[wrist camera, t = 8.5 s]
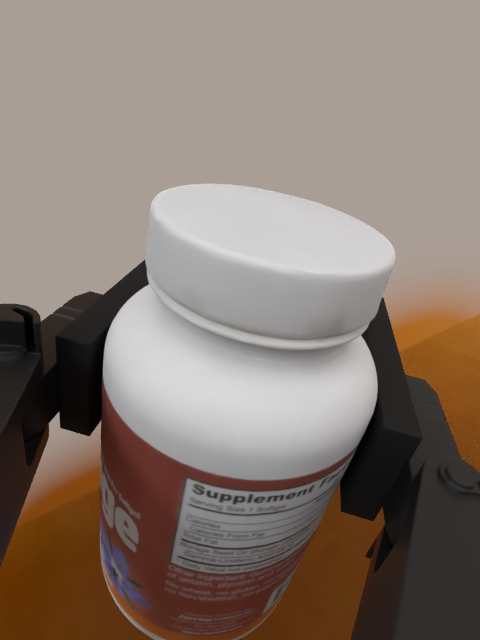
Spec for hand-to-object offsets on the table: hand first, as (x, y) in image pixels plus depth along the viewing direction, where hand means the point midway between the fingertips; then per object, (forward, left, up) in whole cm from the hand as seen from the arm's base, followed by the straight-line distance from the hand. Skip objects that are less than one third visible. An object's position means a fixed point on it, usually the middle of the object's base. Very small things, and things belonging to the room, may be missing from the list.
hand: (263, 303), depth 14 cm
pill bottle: (0, -5, -7) cm, 8 cm away
